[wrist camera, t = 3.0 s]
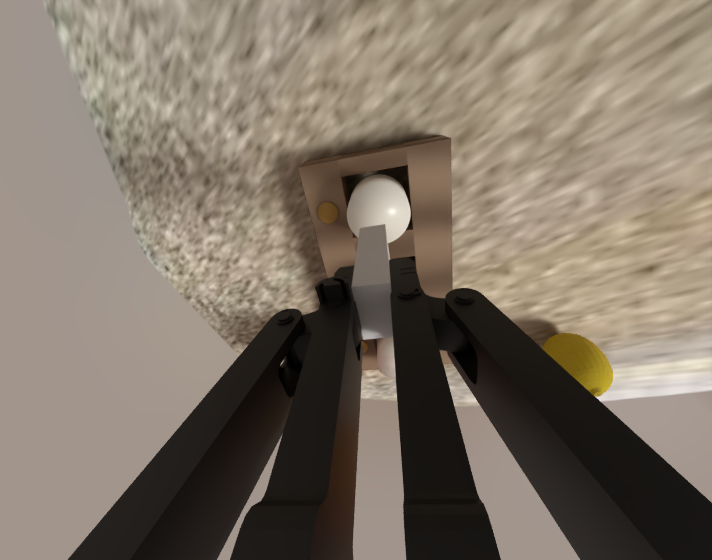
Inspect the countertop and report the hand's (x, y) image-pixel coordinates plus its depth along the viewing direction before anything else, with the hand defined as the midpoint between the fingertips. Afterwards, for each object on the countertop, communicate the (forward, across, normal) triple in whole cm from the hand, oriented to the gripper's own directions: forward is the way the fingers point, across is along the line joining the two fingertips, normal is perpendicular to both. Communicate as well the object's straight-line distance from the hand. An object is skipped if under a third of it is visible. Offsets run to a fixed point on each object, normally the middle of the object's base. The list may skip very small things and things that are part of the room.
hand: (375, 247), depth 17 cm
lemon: (+11, +19, -20) cm, 29 cm away
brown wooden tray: (+11, 0, -8) cm, 14 cm away
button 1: (+8, 0, 0) cm, 8 cm away
